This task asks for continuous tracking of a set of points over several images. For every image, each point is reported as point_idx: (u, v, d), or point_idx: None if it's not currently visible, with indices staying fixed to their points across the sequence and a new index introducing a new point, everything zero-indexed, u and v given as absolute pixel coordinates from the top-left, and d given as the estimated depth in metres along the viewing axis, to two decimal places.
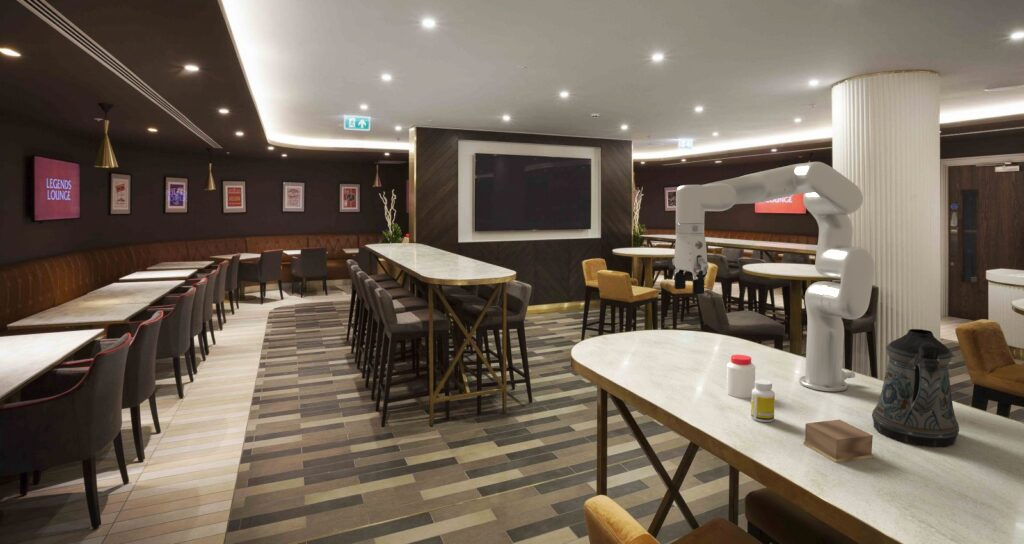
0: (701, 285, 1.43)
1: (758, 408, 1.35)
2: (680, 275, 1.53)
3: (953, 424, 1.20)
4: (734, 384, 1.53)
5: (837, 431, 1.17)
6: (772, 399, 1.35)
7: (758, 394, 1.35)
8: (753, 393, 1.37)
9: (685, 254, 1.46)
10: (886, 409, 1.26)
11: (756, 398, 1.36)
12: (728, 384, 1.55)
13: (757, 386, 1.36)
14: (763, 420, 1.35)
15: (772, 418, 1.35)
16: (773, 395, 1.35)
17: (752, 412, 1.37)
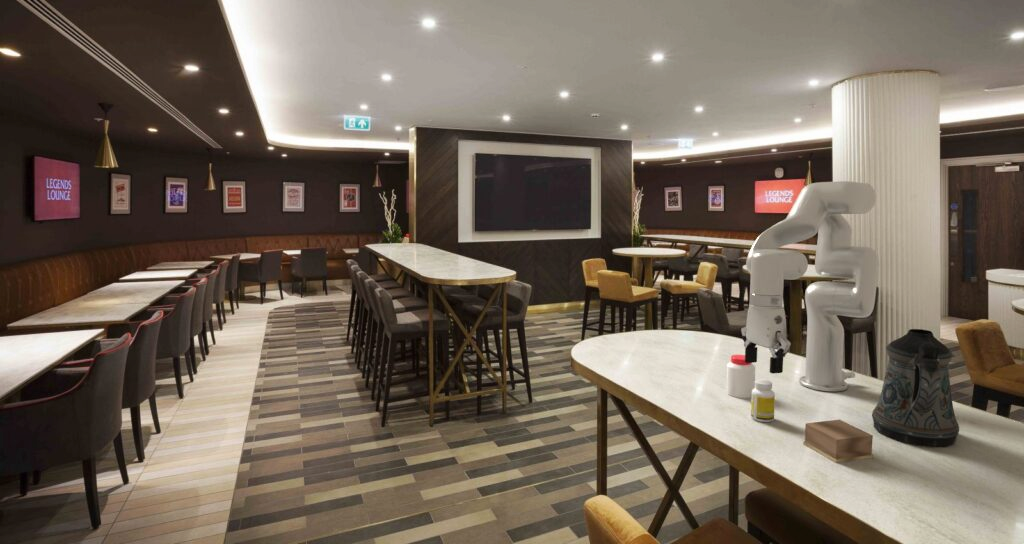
0: (780, 364, 1.30)
1: (758, 408, 1.35)
2: (751, 348, 1.40)
3: (953, 424, 1.20)
4: (734, 384, 1.53)
5: (837, 431, 1.17)
6: (772, 399, 1.35)
7: (758, 394, 1.35)
8: (753, 393, 1.37)
9: (761, 328, 1.32)
10: (886, 409, 1.26)
11: (756, 398, 1.36)
12: (728, 384, 1.55)
13: (757, 386, 1.36)
14: (763, 420, 1.35)
15: (772, 418, 1.35)
16: (773, 395, 1.35)
17: (752, 412, 1.37)
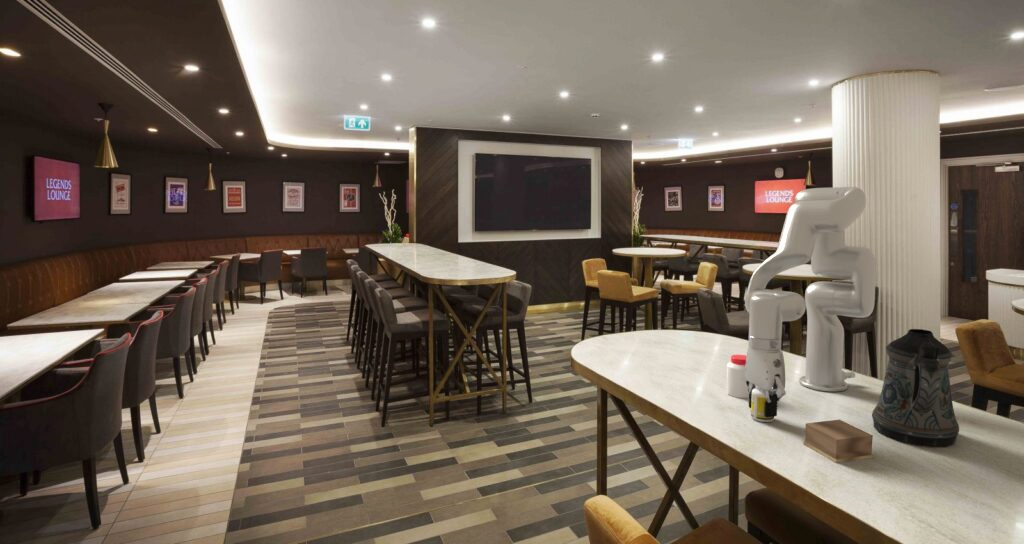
0: (774, 408, 1.33)
1: (758, 408, 1.35)
2: None
3: (953, 424, 1.20)
4: (734, 384, 1.53)
5: (837, 431, 1.17)
6: None
7: (758, 394, 1.35)
8: (753, 393, 1.37)
9: (760, 371, 1.34)
10: (886, 409, 1.26)
11: (756, 398, 1.36)
12: (728, 384, 1.55)
13: (757, 386, 1.36)
14: (763, 420, 1.35)
15: (772, 418, 1.35)
16: None
17: (752, 412, 1.37)
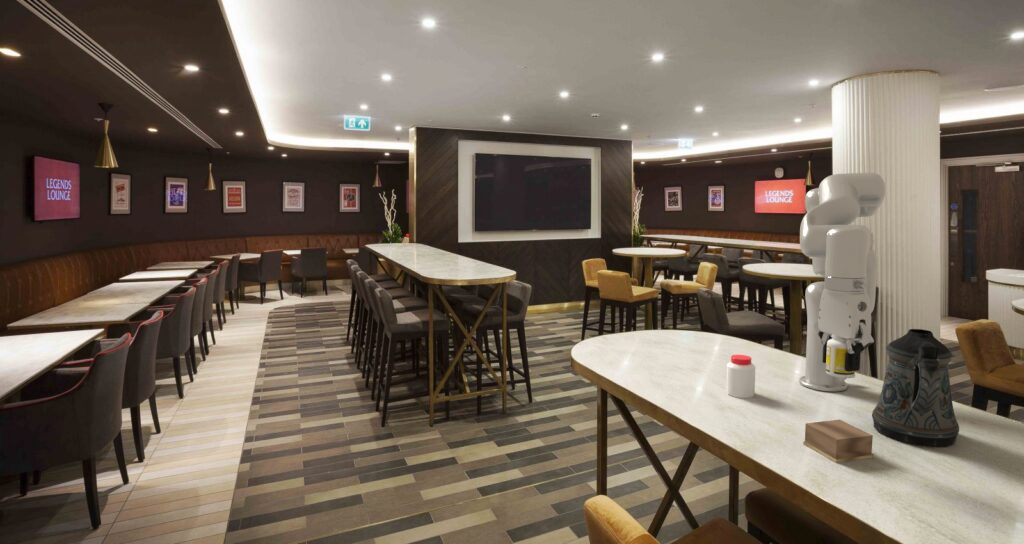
0: (857, 360, 1.13)
1: (836, 361, 1.15)
2: None
3: (953, 424, 1.20)
4: (734, 384, 1.53)
5: (837, 431, 1.17)
6: None
7: (836, 344, 1.15)
8: (830, 344, 1.16)
9: (841, 317, 1.13)
10: (886, 409, 1.26)
11: (834, 350, 1.15)
12: (728, 384, 1.55)
13: (835, 336, 1.15)
14: (842, 375, 1.15)
15: (853, 373, 1.15)
16: None
17: (828, 367, 1.17)
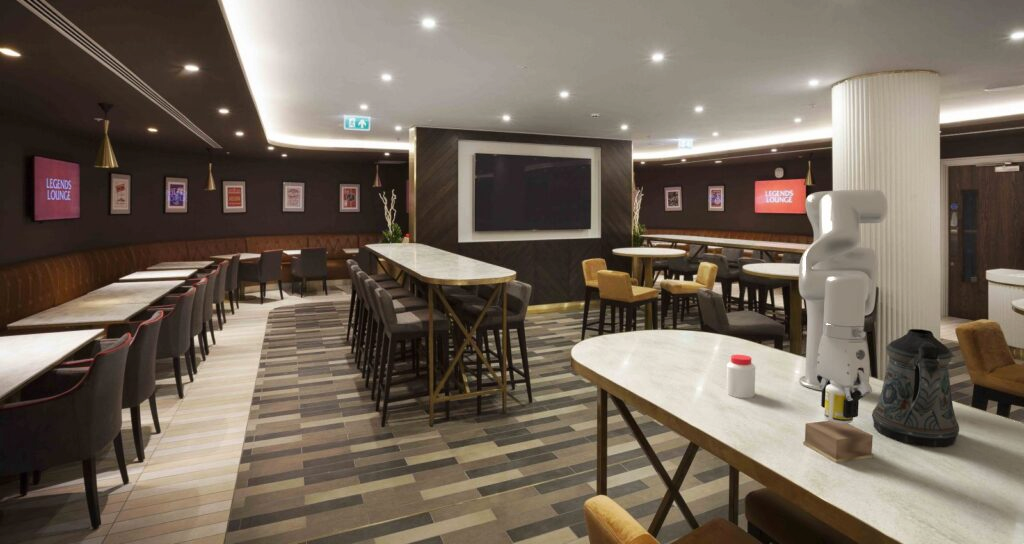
0: (856, 407, 1.14)
1: (835, 407, 1.16)
2: None
3: (953, 424, 1.20)
4: (734, 384, 1.53)
5: (837, 431, 1.17)
6: None
7: (835, 391, 1.16)
8: (828, 390, 1.17)
9: (839, 364, 1.14)
10: (886, 409, 1.26)
11: (833, 396, 1.16)
12: (728, 384, 1.55)
13: (833, 382, 1.16)
14: (841, 421, 1.15)
15: (851, 419, 1.16)
16: None
17: (827, 412, 1.18)
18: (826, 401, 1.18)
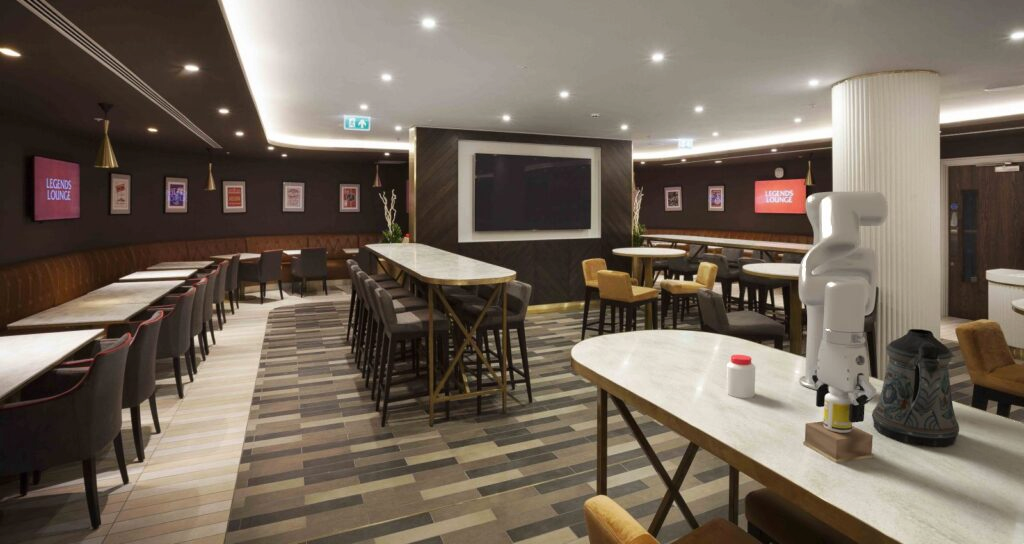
0: (862, 412, 1.12)
1: (834, 416, 1.16)
2: (824, 390, 1.22)
3: (953, 424, 1.20)
4: (734, 384, 1.53)
5: None
6: None
7: (834, 400, 1.16)
8: (827, 399, 1.18)
9: (839, 369, 1.14)
10: (886, 409, 1.26)
11: (832, 405, 1.17)
12: (728, 384, 1.55)
13: (832, 391, 1.17)
14: (840, 430, 1.16)
15: (850, 428, 1.16)
16: None
17: (826, 421, 1.18)
18: (825, 410, 1.18)
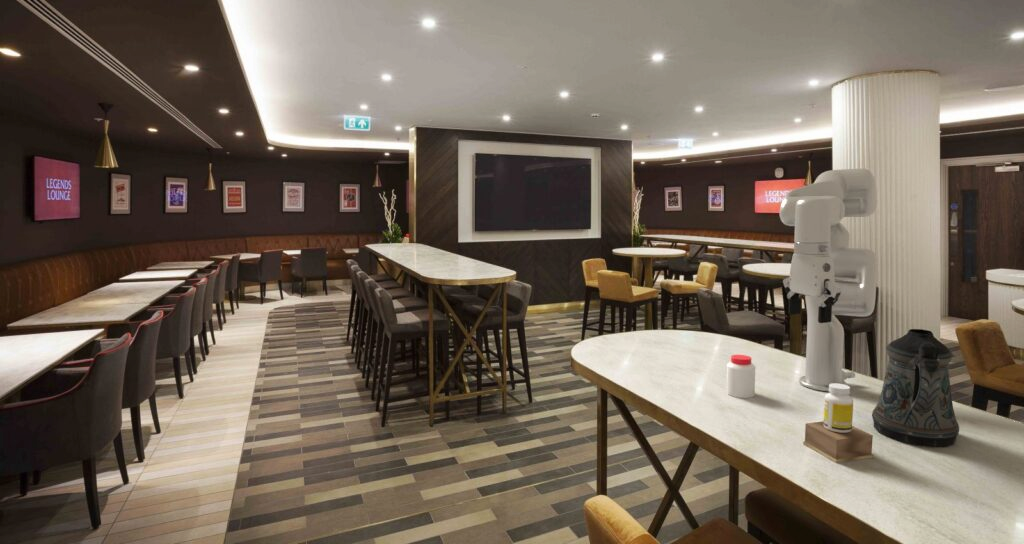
0: (829, 313, 1.26)
1: (834, 416, 1.16)
2: (795, 299, 1.36)
3: (953, 424, 1.20)
4: (734, 384, 1.53)
5: None
6: (851, 406, 1.16)
7: (834, 400, 1.16)
8: (827, 399, 1.18)
9: (808, 277, 1.28)
10: (886, 409, 1.26)
11: (832, 405, 1.17)
12: (728, 384, 1.55)
13: (832, 391, 1.17)
14: (840, 430, 1.16)
15: (850, 428, 1.16)
16: (852, 401, 1.16)
17: (826, 421, 1.18)
18: (825, 410, 1.18)
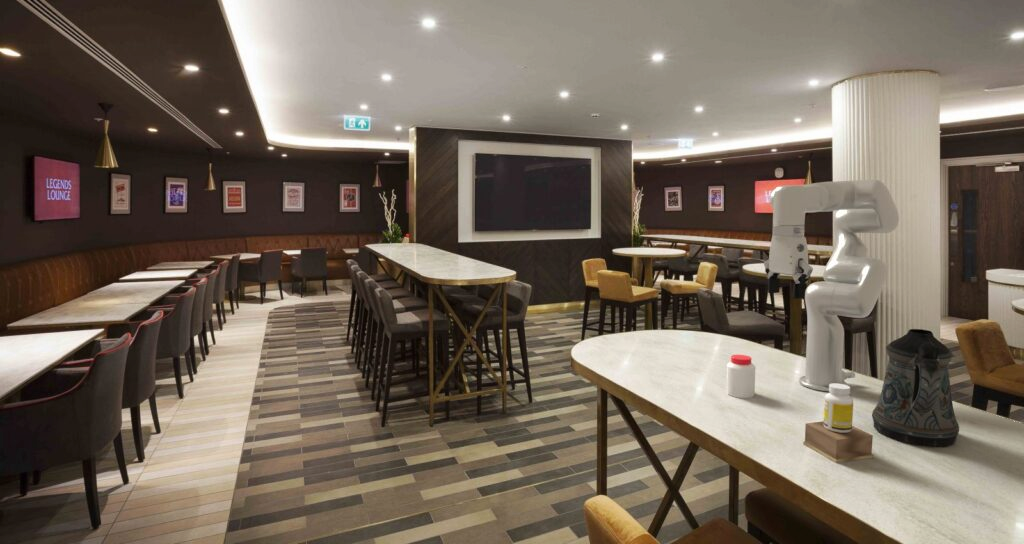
0: (803, 289, 1.38)
1: (834, 416, 1.16)
2: (774, 279, 1.48)
3: (953, 424, 1.20)
4: (734, 384, 1.53)
5: None
6: (851, 406, 1.16)
7: (834, 400, 1.16)
8: (827, 399, 1.18)
9: (784, 257, 1.41)
10: (886, 409, 1.26)
11: (832, 405, 1.17)
12: (728, 384, 1.55)
13: (832, 391, 1.17)
14: (840, 430, 1.16)
15: (850, 428, 1.16)
16: (852, 401, 1.16)
17: (826, 421, 1.18)
18: (825, 410, 1.18)
